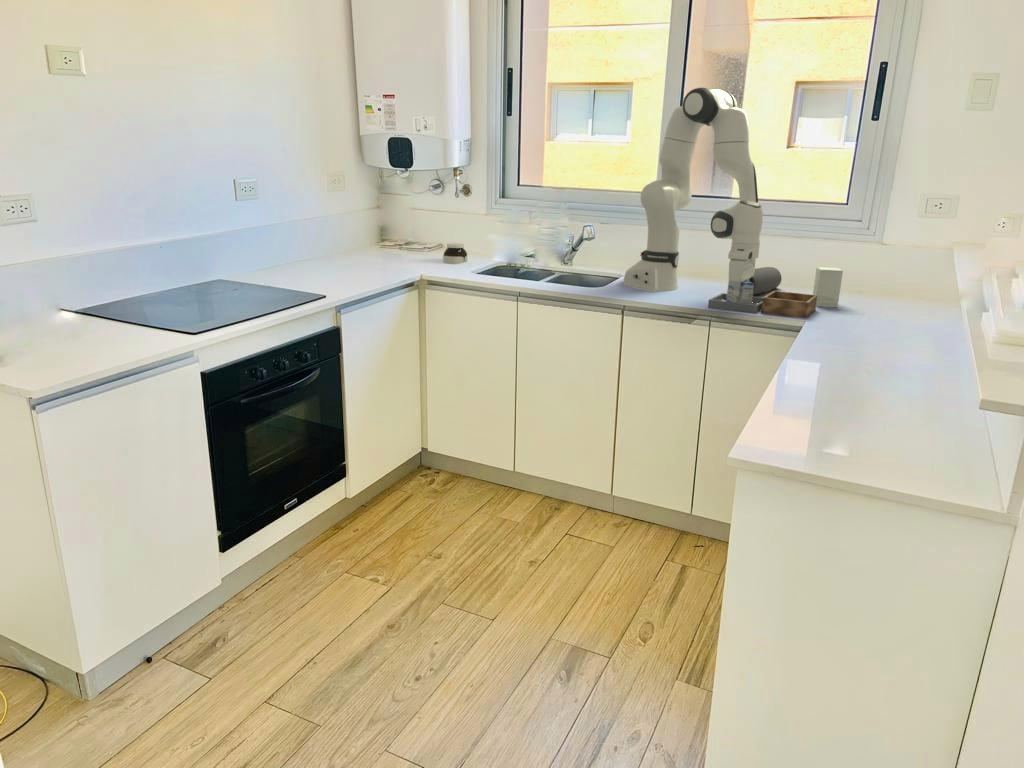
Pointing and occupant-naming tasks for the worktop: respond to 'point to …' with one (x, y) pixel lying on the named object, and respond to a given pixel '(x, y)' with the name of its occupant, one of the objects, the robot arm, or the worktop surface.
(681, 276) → the worktop surface
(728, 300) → the medicine box
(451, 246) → the spread jar
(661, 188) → the robot arm
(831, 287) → the supplement box
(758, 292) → the bluetooth speaker
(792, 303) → the walnut crate
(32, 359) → the worktop surface
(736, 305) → the tray
